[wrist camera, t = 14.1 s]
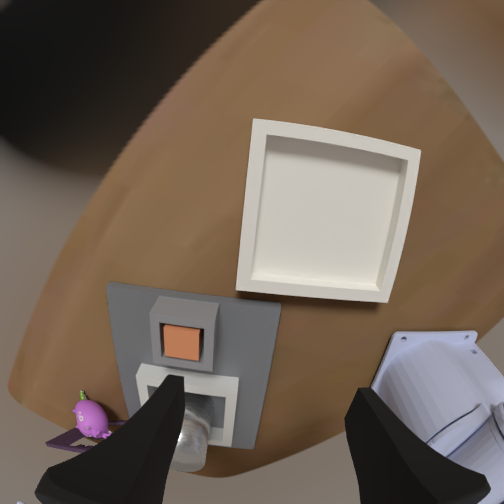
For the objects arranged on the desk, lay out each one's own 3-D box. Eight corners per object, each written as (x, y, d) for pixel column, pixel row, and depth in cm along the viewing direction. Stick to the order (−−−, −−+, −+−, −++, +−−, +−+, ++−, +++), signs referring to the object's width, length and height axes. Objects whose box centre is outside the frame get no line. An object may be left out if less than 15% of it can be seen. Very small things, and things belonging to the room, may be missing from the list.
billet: (216, 390, 22) (206, 450, 17) (211, 420, 24) (203, 475, 18) (166, 380, 22) (147, 438, 16) (166, 411, 23) (150, 464, 18)
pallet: (280, 302, 20) (283, 326, 18) (253, 443, 26) (253, 467, 23) (110, 281, 20) (91, 301, 17) (135, 425, 26) (127, 446, 23)
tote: (410, 149, 17) (421, 150, 15) (380, 293, 20) (387, 302, 19) (253, 120, 17) (253, 118, 15) (237, 280, 20) (235, 290, 19)
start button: (203, 317, 19) (199, 333, 18) (202, 344, 20) (198, 360, 18) (170, 313, 19) (163, 327, 18) (171, 340, 20) (165, 355, 18)
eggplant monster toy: (49, 452, 20) (101, 462, 17) (27, 405, 20) (72, 405, 18) (91, 429, 26) (147, 429, 24) (73, 387, 27) (125, 380, 24)
